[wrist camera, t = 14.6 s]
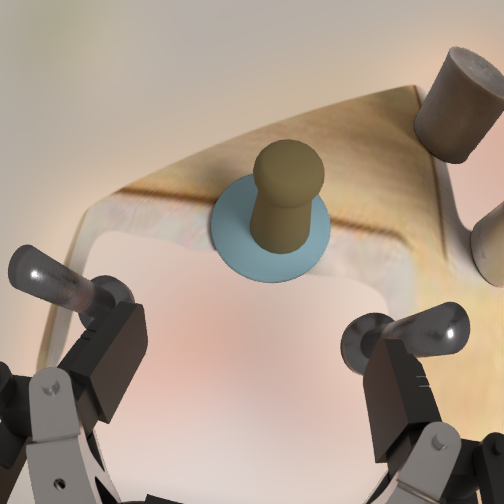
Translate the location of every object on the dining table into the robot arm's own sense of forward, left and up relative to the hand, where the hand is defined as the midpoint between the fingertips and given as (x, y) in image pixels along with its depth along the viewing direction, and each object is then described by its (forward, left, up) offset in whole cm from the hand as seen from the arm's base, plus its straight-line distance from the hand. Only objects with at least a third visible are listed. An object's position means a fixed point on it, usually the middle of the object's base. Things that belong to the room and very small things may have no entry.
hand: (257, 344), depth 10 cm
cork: (-1, -13, -18) cm, 22 cm away
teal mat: (0, -13, -19) cm, 23 cm away
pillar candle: (-23, -31, -19) cm, 43 cm away
